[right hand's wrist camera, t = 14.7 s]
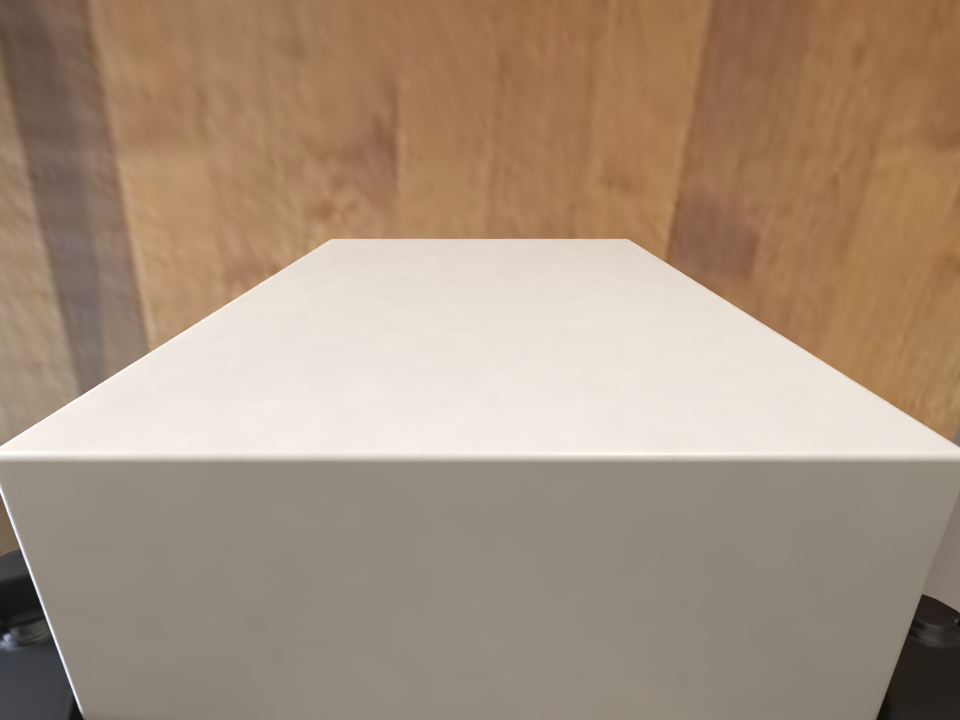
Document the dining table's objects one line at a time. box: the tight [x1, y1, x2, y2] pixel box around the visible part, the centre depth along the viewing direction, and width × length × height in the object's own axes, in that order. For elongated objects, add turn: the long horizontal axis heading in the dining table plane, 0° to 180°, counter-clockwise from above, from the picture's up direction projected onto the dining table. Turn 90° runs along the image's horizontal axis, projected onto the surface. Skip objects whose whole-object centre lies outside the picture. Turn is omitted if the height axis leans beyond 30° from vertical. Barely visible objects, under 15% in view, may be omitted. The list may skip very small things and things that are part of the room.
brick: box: [0, 239, 960, 720], centre depth 12 cm, size 9×8×12 cm
